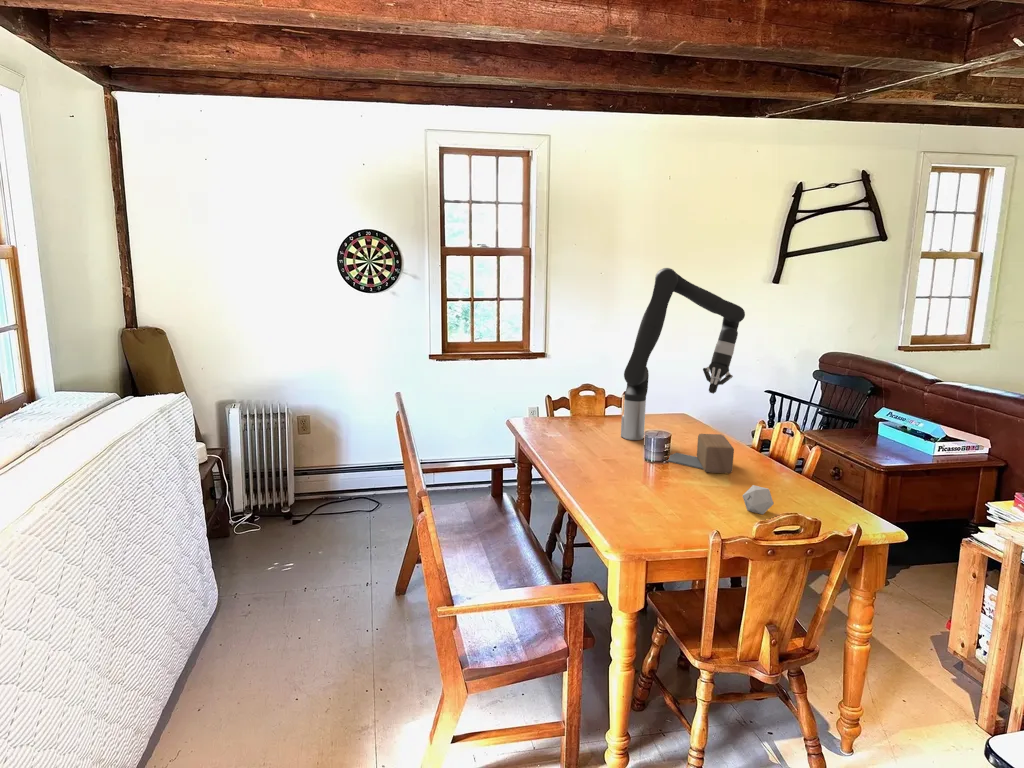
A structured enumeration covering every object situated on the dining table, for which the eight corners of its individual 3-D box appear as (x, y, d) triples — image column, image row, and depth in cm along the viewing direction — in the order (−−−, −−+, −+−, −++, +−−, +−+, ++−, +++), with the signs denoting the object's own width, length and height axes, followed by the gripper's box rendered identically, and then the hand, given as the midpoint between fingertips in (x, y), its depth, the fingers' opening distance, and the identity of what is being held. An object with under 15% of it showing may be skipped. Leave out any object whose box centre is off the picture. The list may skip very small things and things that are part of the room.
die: (741, 506, 219) (735, 488, 213) (765, 494, 218) (759, 475, 213) (756, 524, 212) (750, 505, 206) (780, 511, 212) (775, 492, 206)
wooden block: (723, 433, 266) (734, 447, 246) (722, 458, 267) (732, 474, 248) (697, 432, 267) (706, 446, 247) (696, 457, 268) (704, 472, 249)
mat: (661, 460, 266) (661, 458, 266) (676, 453, 275) (676, 452, 275) (709, 471, 253) (710, 469, 253) (723, 464, 262) (723, 462, 262)
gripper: (705, 348, 283) (693, 388, 285) (735, 355, 275) (723, 396, 277) (712, 350, 289) (700, 389, 291) (741, 357, 281) (729, 397, 282)
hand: (711, 392), depth 284 cm, fingers closed
